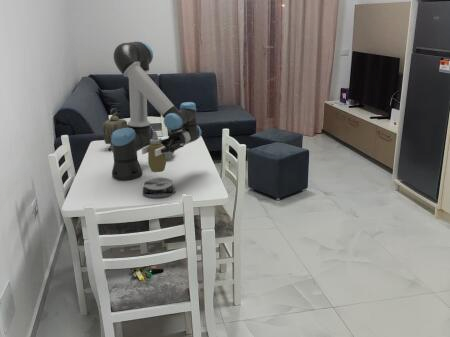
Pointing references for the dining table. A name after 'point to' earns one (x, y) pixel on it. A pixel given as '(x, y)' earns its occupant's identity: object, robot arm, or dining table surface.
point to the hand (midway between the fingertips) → (149, 152)
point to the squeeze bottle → (156, 161)
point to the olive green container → (112, 127)
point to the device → (168, 154)
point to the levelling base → (159, 193)
